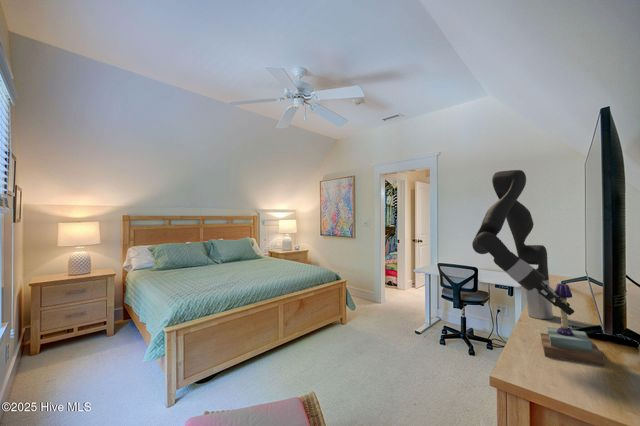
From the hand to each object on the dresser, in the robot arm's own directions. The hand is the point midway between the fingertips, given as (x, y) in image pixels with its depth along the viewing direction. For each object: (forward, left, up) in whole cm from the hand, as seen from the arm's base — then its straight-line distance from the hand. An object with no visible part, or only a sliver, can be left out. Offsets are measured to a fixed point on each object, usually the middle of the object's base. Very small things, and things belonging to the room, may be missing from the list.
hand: (569, 310), depth 93 cm
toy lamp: (0, -2, -8) cm, 8 cm away
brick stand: (0, -1, -14) cm, 14 cm away
